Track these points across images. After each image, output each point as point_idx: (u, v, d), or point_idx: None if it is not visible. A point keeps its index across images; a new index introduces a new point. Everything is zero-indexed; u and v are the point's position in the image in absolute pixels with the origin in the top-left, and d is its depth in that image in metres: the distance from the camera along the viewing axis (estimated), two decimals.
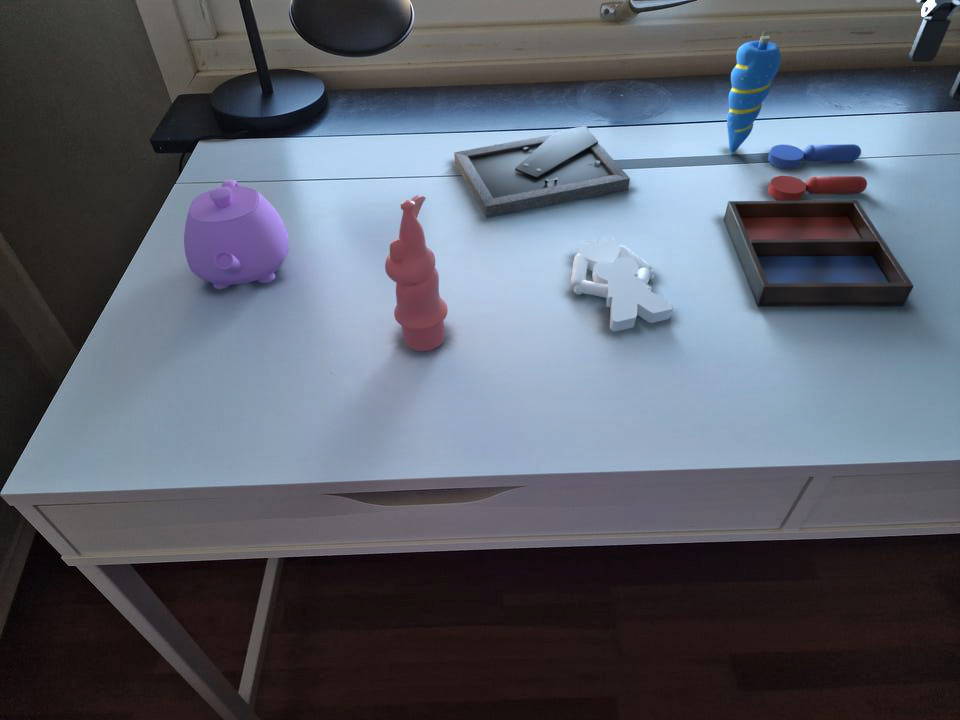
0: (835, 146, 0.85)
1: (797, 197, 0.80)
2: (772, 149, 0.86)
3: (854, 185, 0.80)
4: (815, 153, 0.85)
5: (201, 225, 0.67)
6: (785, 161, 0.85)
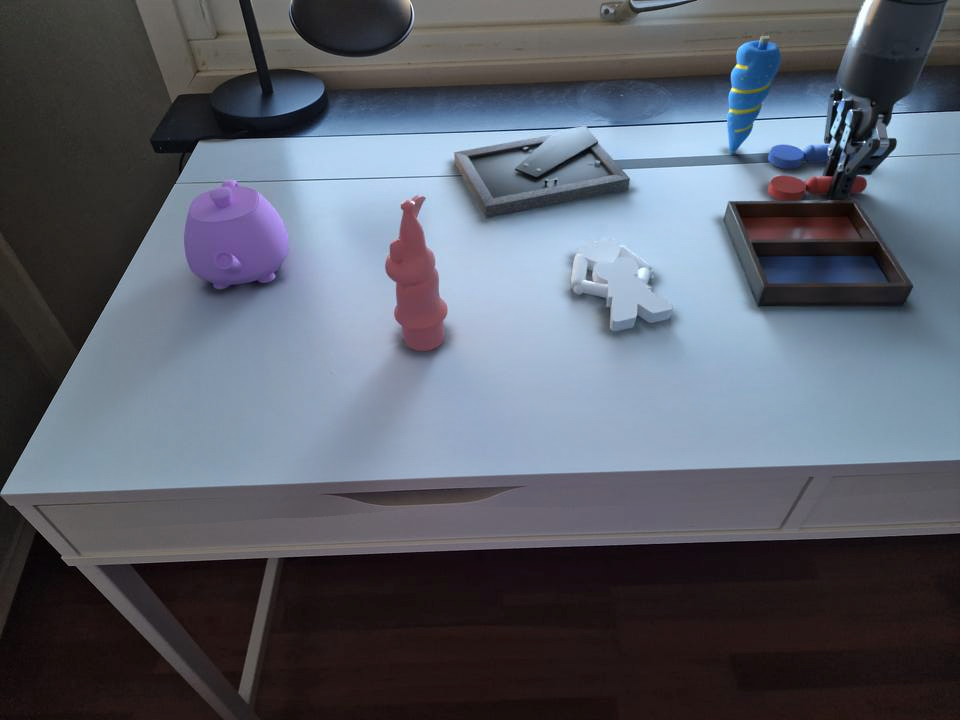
0: None
1: (797, 197, 0.80)
2: (772, 149, 0.86)
3: (854, 185, 0.80)
4: (815, 153, 0.85)
5: (201, 225, 0.67)
6: (785, 161, 0.85)
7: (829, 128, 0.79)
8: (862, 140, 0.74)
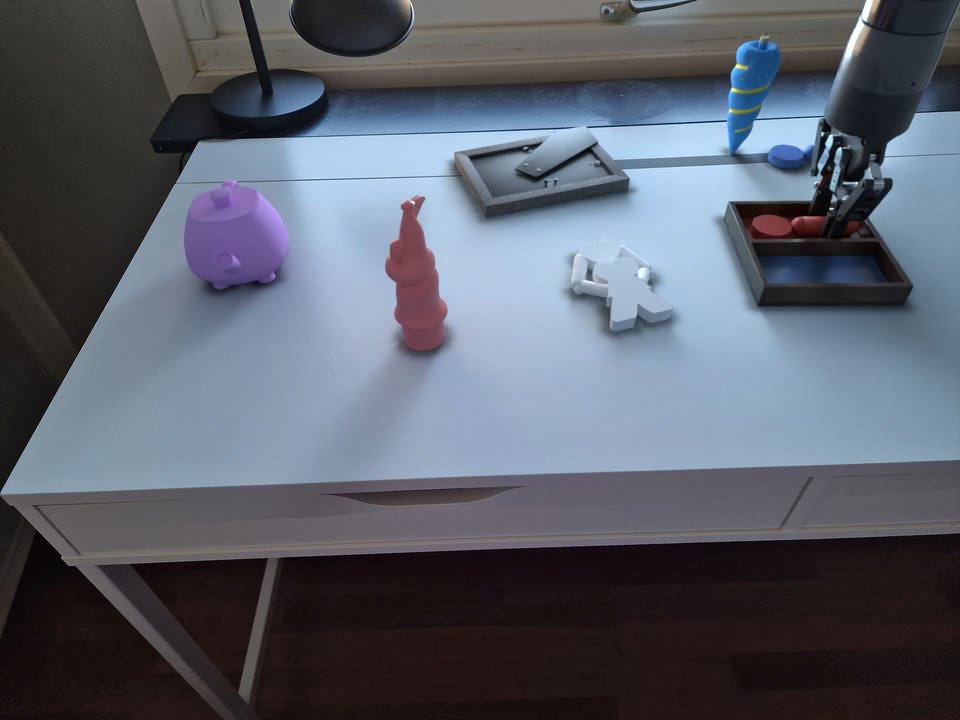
0: None
1: None
2: (772, 149, 0.86)
3: None
4: None
5: (200, 225, 0.67)
6: (785, 161, 0.85)
7: (816, 160, 0.73)
8: (852, 180, 0.67)
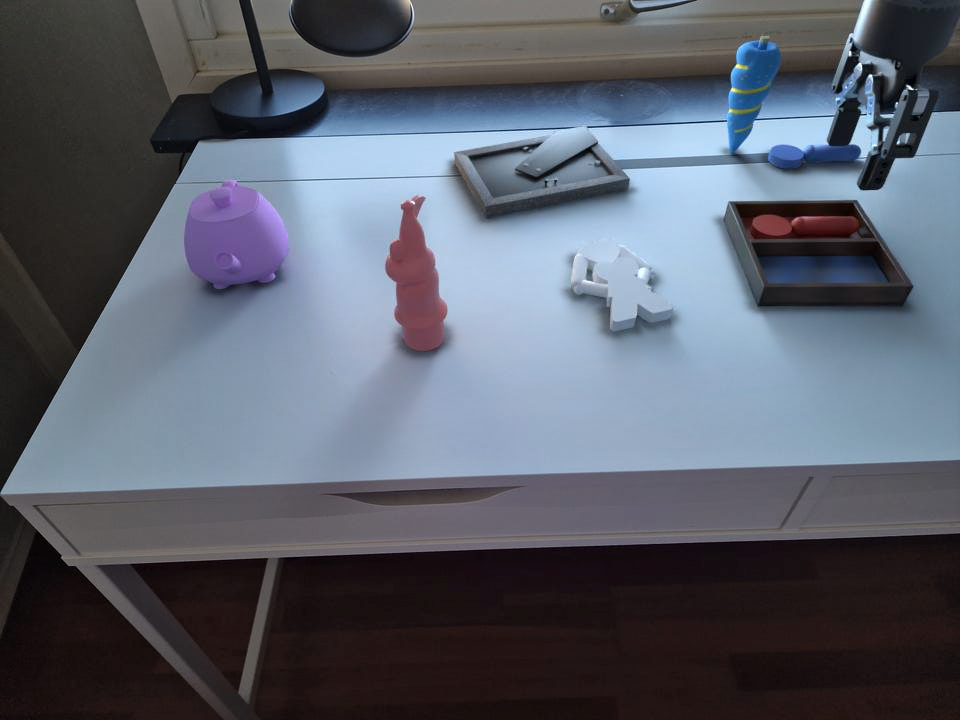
0: (835, 146, 0.85)
1: None
2: (772, 149, 0.86)
3: (844, 226, 0.73)
4: (815, 153, 0.85)
5: (201, 225, 0.67)
6: (785, 161, 0.85)
7: (839, 79, 0.68)
8: (884, 111, 0.62)
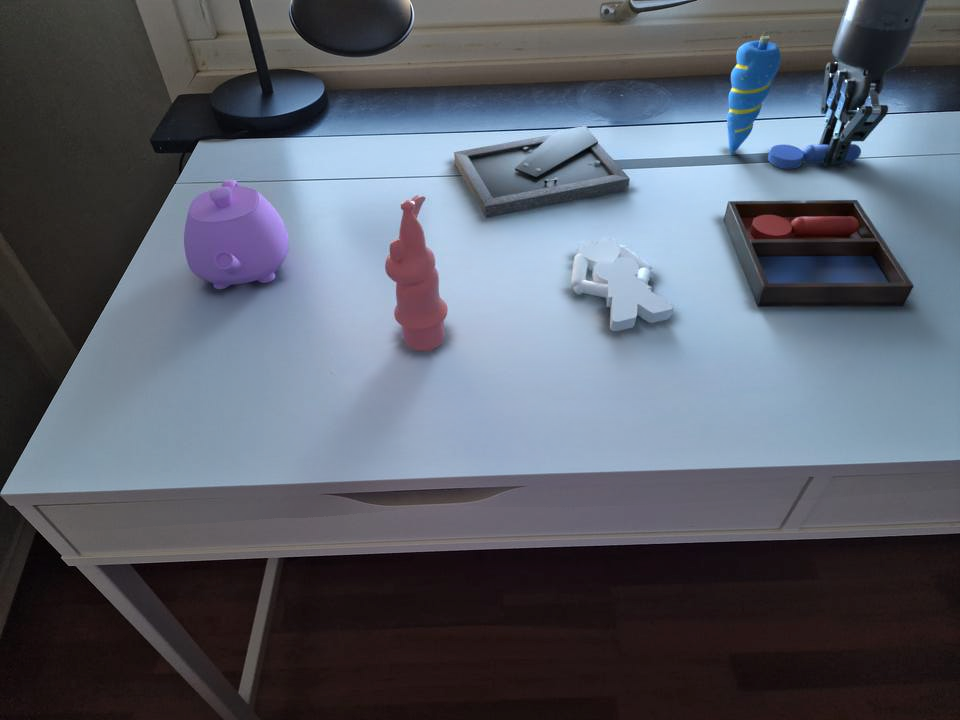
0: None
1: None
2: (772, 149, 0.86)
3: (844, 226, 0.73)
4: (815, 153, 0.85)
5: (200, 225, 0.67)
6: (785, 161, 0.85)
7: (826, 99, 0.85)
8: (856, 108, 0.79)
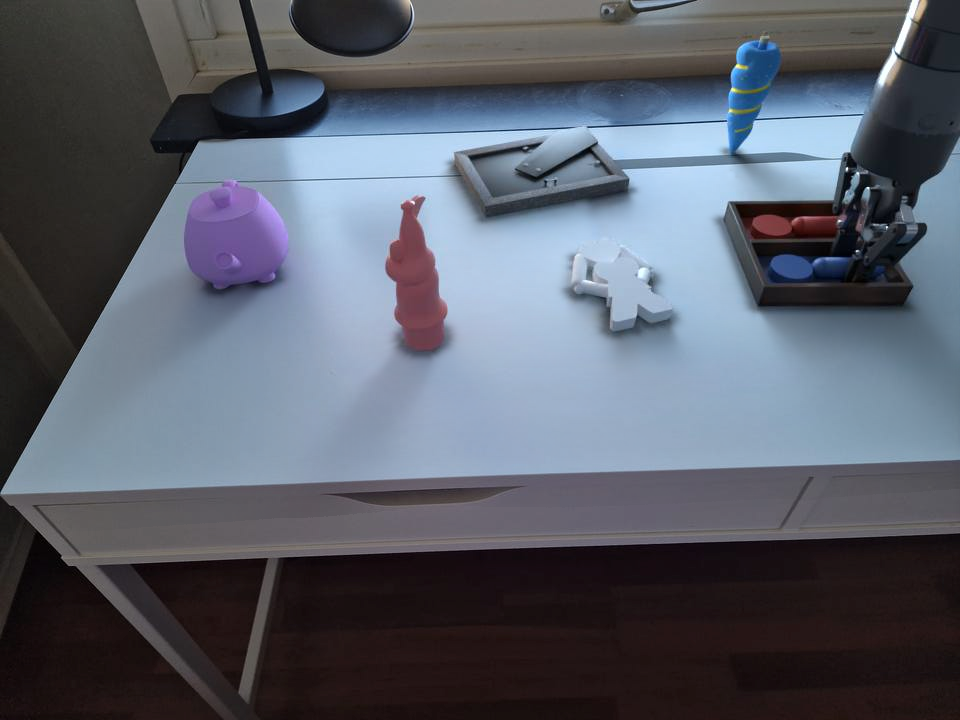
0: None
1: None
2: (773, 261, 0.69)
3: None
4: (827, 269, 0.68)
5: (200, 225, 0.67)
6: (789, 280, 0.67)
7: (839, 197, 0.68)
8: (881, 222, 0.62)
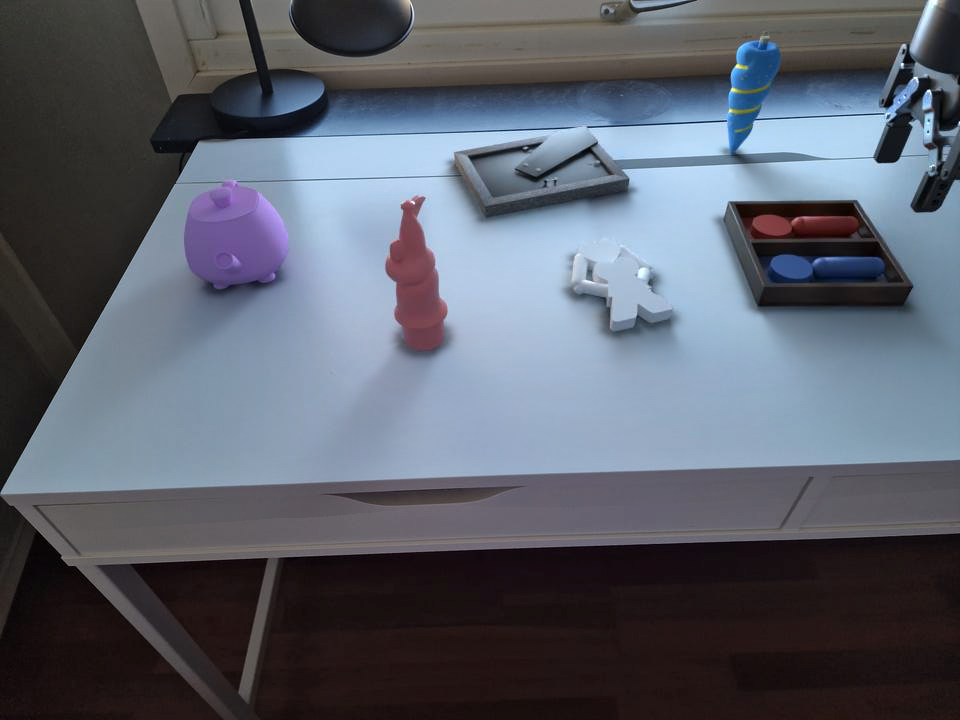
0: (852, 260, 0.68)
1: None
2: (773, 261, 0.69)
3: (844, 226, 0.73)
4: (827, 269, 0.68)
5: (200, 225, 0.67)
6: (789, 280, 0.67)
7: (888, 93, 0.64)
8: (943, 129, 0.58)
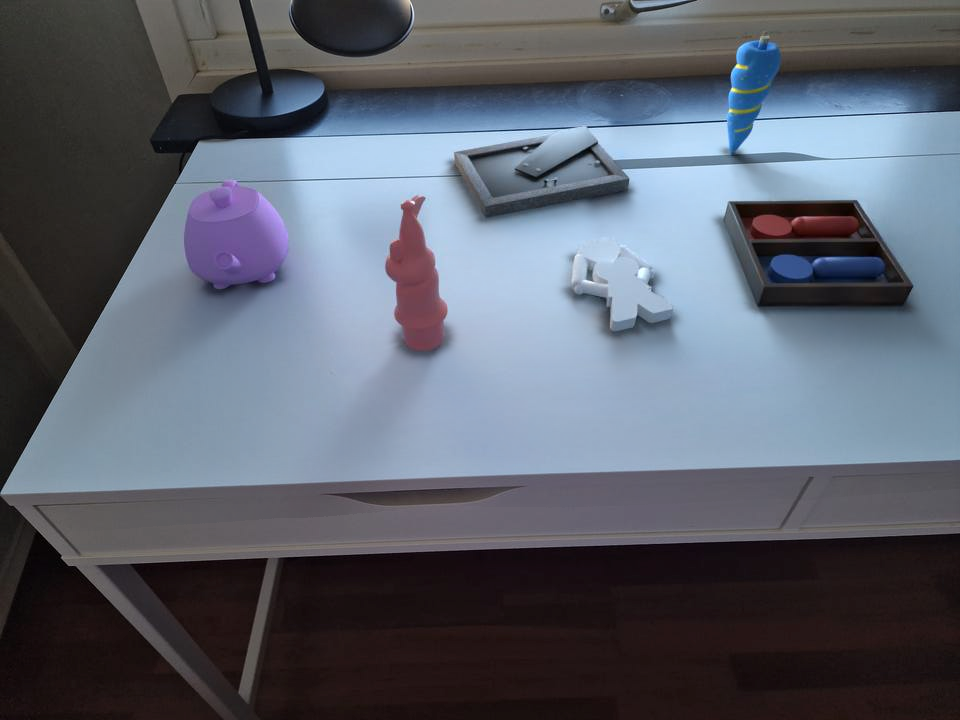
0: (852, 260, 0.68)
1: None
2: (773, 261, 0.69)
3: (844, 226, 0.73)
4: (827, 269, 0.68)
5: (200, 225, 0.67)
6: (789, 280, 0.67)
7: None
8: None
